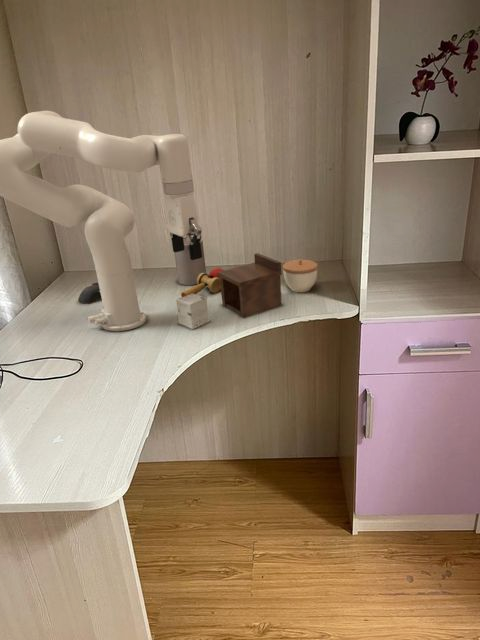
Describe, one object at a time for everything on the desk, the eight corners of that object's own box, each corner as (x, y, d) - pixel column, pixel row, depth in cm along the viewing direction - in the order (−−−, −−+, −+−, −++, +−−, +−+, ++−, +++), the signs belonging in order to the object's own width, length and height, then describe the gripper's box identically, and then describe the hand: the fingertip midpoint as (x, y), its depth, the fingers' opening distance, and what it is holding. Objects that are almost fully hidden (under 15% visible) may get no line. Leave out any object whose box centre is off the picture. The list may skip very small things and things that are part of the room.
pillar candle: (185, 275, 184) (180, 232, 177) (211, 276, 181) (206, 233, 174) (173, 284, 175) (166, 240, 169) (199, 286, 173) (194, 241, 166)
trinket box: (316, 295, 160) (316, 265, 155) (281, 294, 162) (280, 265, 157) (319, 282, 169) (319, 254, 165) (286, 282, 171) (285, 254, 167)
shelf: (242, 318, 148) (238, 273, 142) (221, 305, 157) (216, 263, 151) (283, 305, 154) (281, 262, 148) (260, 294, 163) (257, 253, 157)
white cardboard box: (178, 324, 146) (175, 299, 143) (195, 316, 150) (192, 292, 147) (193, 329, 143) (189, 304, 139) (209, 322, 146) (207, 297, 143)
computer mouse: (63, 298, 170) (61, 286, 168) (108, 281, 182) (106, 270, 180) (86, 305, 163) (83, 293, 161) (131, 288, 175) (128, 276, 173)
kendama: (196, 307, 160) (235, 282, 170) (189, 288, 157) (229, 263, 168) (180, 306, 165) (219, 281, 176) (173, 288, 162) (213, 264, 173)
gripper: (150, 186, 136) (160, 251, 144) (180, 194, 123) (190, 265, 131) (176, 182, 140) (185, 245, 147) (208, 189, 127) (216, 258, 134)
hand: (187, 254), depth 139 cm, fingers open, 9 cm apart
